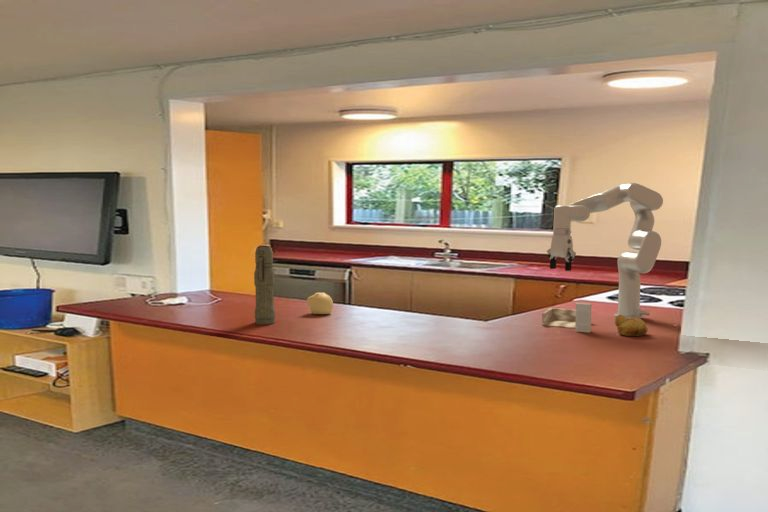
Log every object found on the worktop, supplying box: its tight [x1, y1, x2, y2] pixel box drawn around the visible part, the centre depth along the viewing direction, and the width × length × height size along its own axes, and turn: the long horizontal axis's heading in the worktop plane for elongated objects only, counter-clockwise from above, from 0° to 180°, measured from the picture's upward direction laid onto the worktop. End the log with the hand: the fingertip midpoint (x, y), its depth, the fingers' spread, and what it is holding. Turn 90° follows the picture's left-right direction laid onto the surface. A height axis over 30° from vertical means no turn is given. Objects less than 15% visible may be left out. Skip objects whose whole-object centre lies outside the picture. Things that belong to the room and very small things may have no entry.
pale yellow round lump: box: [306, 291, 334, 315], centre depth 274 cm, size 11×12×11 cm
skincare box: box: [574, 302, 592, 334], centre depth 235 cm, size 6×4×12 cm
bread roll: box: [614, 315, 649, 337], centre depth 229 cm, size 13×10×8 cm
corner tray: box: [541, 307, 576, 330], centre depth 250 cm, size 18×16×6 cm
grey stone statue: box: [253, 245, 276, 326], centre depth 250 cm, size 9×12×35 cm
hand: (560, 269), depth 256 cm, fingers open, 9 cm apart
